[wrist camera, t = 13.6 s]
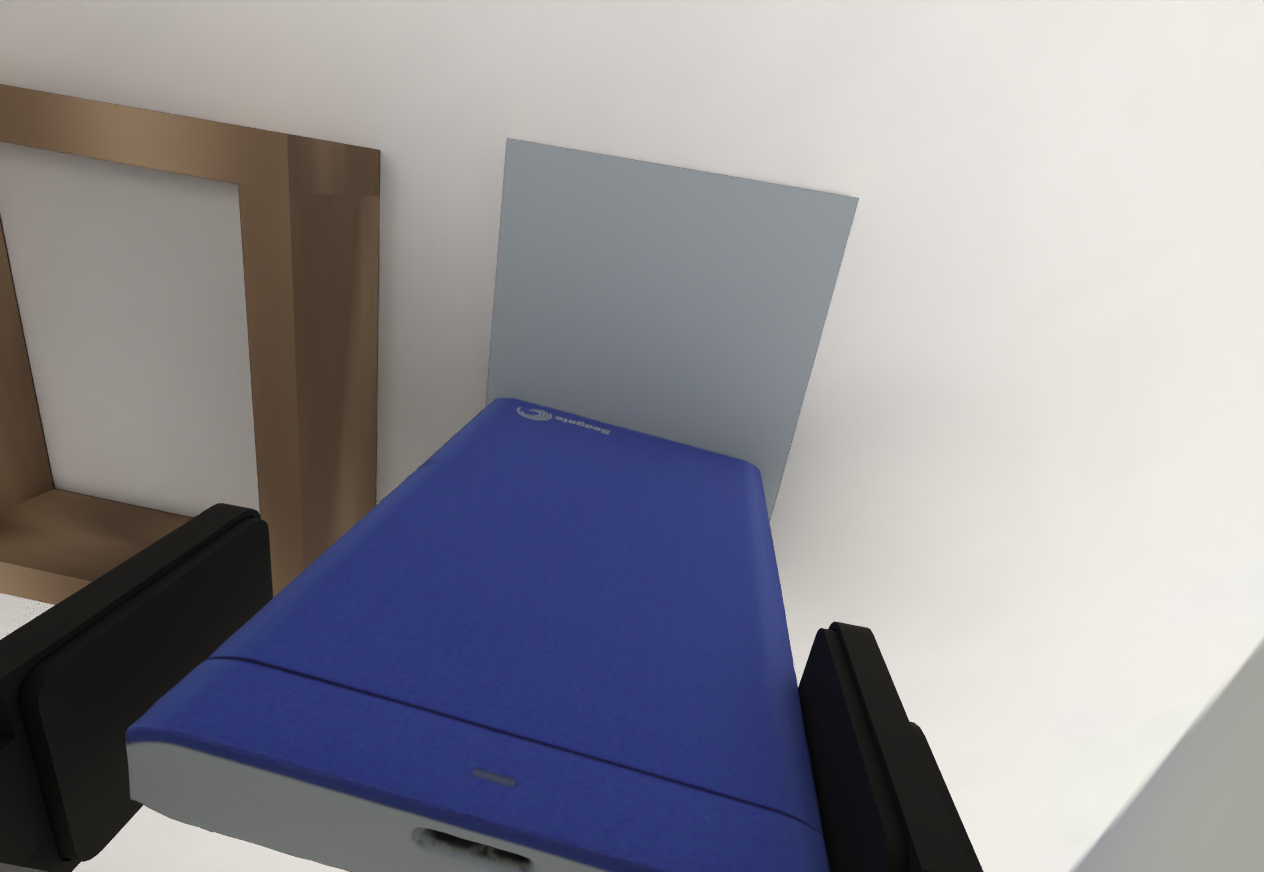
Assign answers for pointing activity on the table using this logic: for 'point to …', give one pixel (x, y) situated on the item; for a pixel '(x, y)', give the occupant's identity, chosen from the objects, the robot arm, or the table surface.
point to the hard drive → (513, 674)
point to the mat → (663, 298)
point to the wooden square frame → (277, 333)
